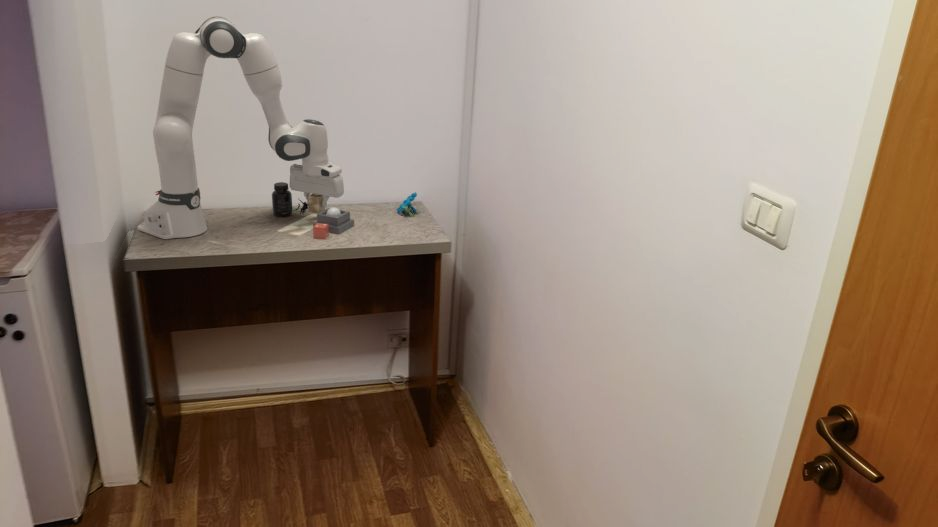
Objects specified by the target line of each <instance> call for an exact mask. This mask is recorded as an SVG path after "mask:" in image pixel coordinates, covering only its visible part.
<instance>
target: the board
mask: <svg viewBox="0 0 938 527" xmlns="http://www.w3.org/2000/svg"><path fill="white" fill-rule="evenodd" d="M316 221H317V213H310V214H308V215H307V216H305V217H302V218H300V219H298V220H297V221H294V222H292V223H290V224H289V225H286V226H284V227H282V228H280V229H277V232H279V233H283V234H288V235H292V236H298V237H299V236H301V235H304V234H306V233H308V232H309V231H311V230H313V223H314V222H316Z"/></svg>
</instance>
